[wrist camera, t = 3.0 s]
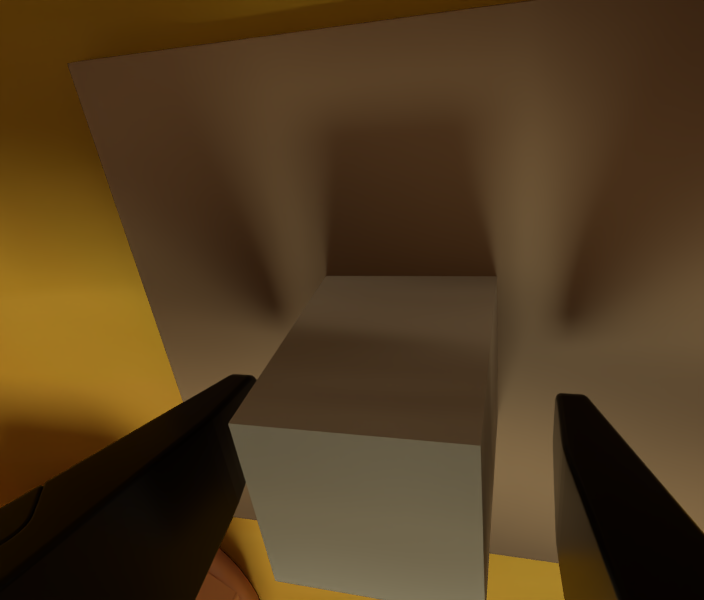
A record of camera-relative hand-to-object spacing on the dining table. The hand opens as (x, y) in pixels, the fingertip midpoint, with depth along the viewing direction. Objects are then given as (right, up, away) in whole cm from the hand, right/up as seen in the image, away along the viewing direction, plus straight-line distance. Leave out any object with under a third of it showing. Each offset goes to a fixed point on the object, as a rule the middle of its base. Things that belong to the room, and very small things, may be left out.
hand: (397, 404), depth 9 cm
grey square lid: (+1, +1, +2) cm, 3 cm away
